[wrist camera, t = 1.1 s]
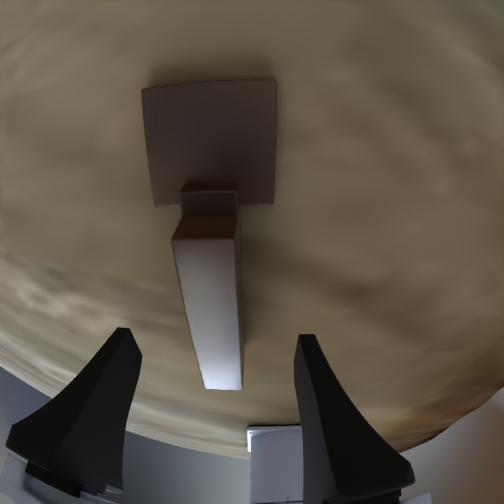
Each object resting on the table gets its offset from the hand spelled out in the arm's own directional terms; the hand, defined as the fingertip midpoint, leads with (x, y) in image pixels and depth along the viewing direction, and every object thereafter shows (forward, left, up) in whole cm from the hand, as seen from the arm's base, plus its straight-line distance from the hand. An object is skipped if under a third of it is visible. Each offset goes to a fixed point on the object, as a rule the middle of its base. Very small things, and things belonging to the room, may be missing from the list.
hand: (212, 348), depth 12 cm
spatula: (+2, 0, -4) cm, 5 cm away
